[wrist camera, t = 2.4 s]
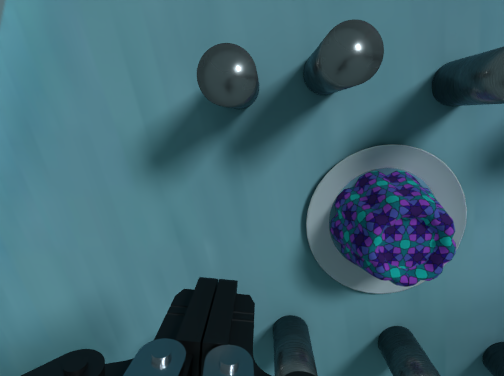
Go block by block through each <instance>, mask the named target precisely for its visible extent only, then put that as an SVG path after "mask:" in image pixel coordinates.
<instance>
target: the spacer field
mask: <svg viewBox="0 0 504 376" xmlns="http://www.w3.org/2000/svg"><path fill="white" fill-rule="evenodd" d="M383 53H384V47H383V42H382V38H381V36H380V34H379V33H378V31H377V30H376V29H375V28H374V27H373V26H372V25H371V24H369V23H367V22H365V21H362V20H348V21H344V22H342V23H340V24H338V25H337V26H335V27H334V28H333V29H332V30H331V31H330V32H329V33H328V34H327V36H326V37H325V38H324V40H323V41H322V42H321V43H320V45H319V46H318V47H317V49H316V50H315V51H314V52H313V54H312V55H311V56H310V57H309V59H308V60H307V62H306V64H305V67H304V72H303V75H304V80H305V83H306V85H307V86H308V88H309V89H310V90H311V91H313V92H314V93H316V94H320V95H328V94H331V93H334V92H338V91H341V90H344V89H347V88H350V87H353V86H356V85H359V84H362V83H364V82H366V81H368V80H369V79H370V78H371V77H372V76H373V75H374V74H375V73H376V72H377V70H378V69H379V67H380V65H381V62H382V59H383ZM197 81H198V85H199V87H200V90H201V91H202V93H203V94H204V96H205V97H206V98H207V99H208V100H209V101H211V102H212V103H214V104H216V105H219V106H224V107H229V108H234V109H243V108H246V107H248V106H250V105H251V104H252V103H253V102H254V101H255V100H256V98H257V96H258V93H259V81H258V76H257V71H256V66H255V63H254V61H253V59H252V57H251V56H250V54H249V53H248V52H247V51H246V50H244V49H243V48H242V47H240V46H238V45H235V44H231V43H222V44H218V45H215V46H213V47H211V48H210V49H209V50H207V51H206V52H205V53H204V55H203V56H202V58H201V59H200V61H199V64H198V68H197ZM432 92H433V95H434V97H435V98H436V100H437V101H438V102H440V103H441V104H443V105H447V106H462V105H483V104H504V47H501V48H497V49H494V50H490V51H487V52H483V53H480V54H476V55H473V56H469V57H466V58H462V59H459V60H455V61H452V62H449V63H447V64H445V65H443V66H442V67H441V68H440V69H439V70H438V71H437V72H436V74H435V76H434V78H433V82H432ZM273 341H274V367H275V376H285V375H286V374H288V373H290V372H294V371H304V372H308V373H311V374H313V375H315V376H318V375H317V370H316V365H315V360H314V355H313V351H312V346H311V341H310V336H309V331H308V326H307V324H306V323H305V321H304V320H303V319H301V318H299V317H297V316H292V315H289V316H284V317H282V318H280V319H279V320H278V321H277V322H276V323H275V325H274V327H273ZM378 346H379V348H380V350H381V352H382V354H383V356H384V358H385V360H386V363H387V365H388V367H389V369H390V371H391V373H392V375H393V376H440V374H439V373H438V371H437V370H436V368H435V367H434V365H433V364H432V362H431V361H430V359H429V358H428V356H427V355H426V353H425V352H424V350H423V349H422V348H421V346H420V345H419V343H418V342H417V340H416V339H415V337H414V336H413V334H412V333H411V332H410V331H409V330H408V329H407V328H404V327H401V326H394V327H390V328H388V329H386V330H384V331H383V332H382V333H381V335H380V336H379V339H378ZM483 363H484V365H485V367H486V368H487V369H488V370H489V371H490V372H491V374H492V375H493V376H504V342H500V343H496V344H494V345H492V346H490V347H489V348H488V349H487V350H486V351H485V353H484V355H483Z"/></svg>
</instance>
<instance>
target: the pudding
mask: <svg viewBox="0 0 504 376" xmlns="http://www.w3.org/2000/svg"><path fill="white" fill-rule="evenodd" d="M381 168H396V169H401V170H405V171H408V172H410V173H412V174H414V175H416V176H418V177H419V178H420V179H422V180H423V181H424V182H425V183H426V184H427V185H428V186H429V187H430V189H431V191H432V192H433V194H434V196H435V197H434V196H433V195H432V193H431V192H430V191H429V190H428V189H427V188H423V187H422V186H421V185H420V184H419V182H418V181H417V180H416V179H415V178H414V177H413V176H412V175H410V174H409V173H407V172H402V171H395V172H393V173H391V174H389V175H387V176H386V175H384V174H382V173H380V172H378V171H375V172H368V171H371V170H375V169H381ZM365 172H368V173H366V174H365V175H363V176H361V177H359V179H358V181H357V183H356V185H355V187H352V188H348V189H344V190H343V191H342V192H341V193H340V191H341V190H342V189H343V188H344V187H345V186H346V185H347V184H348V183H349V182H350V181H351V180H353V179H354V178H356V177H357V176H359V175H361V174H363V173H365ZM339 193H340V194H339ZM338 194H339V195H338ZM337 195H338V197H337ZM336 197H337V200H336V202H335V208H336V211H337V215H336V216H335V217H334V218H333V219H332V221H331V224H330V230H329V217H330V211H331V208H332V205H333V203H334V201H335V199H336ZM466 216H467V208H466V201H465V195H464V193H463V190H462V187H461V184H460V183H459V181H458V179H457V178H456V176H455V174H454V173H453V172H452V171H451V169H450V168H449V167H448V166H447V165H446V164H445V163H444V162H443V161H441V160H440V159H438V158H437V157H436V156H434V155H433V154H430V153H428V152H426V151H424V150H422V149H419V148H415V147H411V146H407V145H396V144H389V145H379V146H374V147H370V148H367V149H363V150H361V151H359V152H356V153H354V154H352V155H350V156H348V157H347V158H345V159H344V160H342V161H341V162H339V163H338V164H337V165H335V166H334V167H333V168H332V169H331V170H330V171H329V172H328V173H327V174H326V175H325V177H324V178H323V179H322V181H321V182H320V183H319V185H318V186H317V188H316V190H315V192H314V194H313V196H312V198H311V201H310V205H309V208H308V212H307V221H306V228H307V238H308V242H309V245H310V249H311V251H312V253H313V255H314V257H315V259H316V261H317V262H318V263H319V265H320V266H321V267H322V269H323V270H324V271H325V272H326V273H327V274H328V275H329V276H330V277H332V278H333V279H334V280H336V281H338V282H339V283H341V284H342V285H344V286H347V287H349V288H351V289H354V290H358V291H362V292H366V293H376V294H383V293H394V292H399V291H403V290H407V289H409V288H412V287H414V286H417V285H419V284H421V283H423V282H424V281H430V280H432V279H434V278H436V277H437V276H438V275H440V274H441V273H442V270H443V267H444V266H445V265H446V264H447V262H449V261H451V260H452V258H453V256H454V255H455V252H456V250H457V248H458V246H459V244H460V242H461V239H462V237H463V234H464V230H465V226H466ZM330 231H331V234H332V236H333V238H334V239H335V240H337V241H338V242H340V243H341V252H342V254H343V255H344V256H345V257H346V258H345V257H344V256H343V255H342V254H340V252H339V251H338V250H337V248H336V247H335V245H334V243H333V241H332V238H331V234H330ZM347 259H348V260H347ZM350 261H351V262H350ZM353 263H354V264H353Z"/></svg>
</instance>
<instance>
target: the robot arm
mask: <svg viewBox="0 0 504 376" xmlns="http://www.w3.org/2000/svg"><path fill="white" fill-rule="evenodd" d="M237 282H238V281H235V280H225V279H219V282H218V279H214V278H204V277H200V278H199V280H198V282H197V285H196V287H195V290H191V289H183V290H182V291H181V292H180V293H178V294H177V295H176V296H175V297H174V299H173V302H172V304H171V307H170V308H169V310H168V312H167V314H166V316H165V318H164V320H163V322H162V324H161V327H160V329H159V331H158V333H157V335H156V337H155V339H154V340H153V341H151V342H149V343H147V344H145V345H144V346H143V347H142V348H141V349H140V350H139V351H138V353H137V354H136V356H135V357H134V358H133V359H130V360H126V361H121V362H115V363H109V364H105V359H104V357H103V355H102V354H101V353H100V352H98V351H96V350H92V349H81V350H76V351H72V352H69V353H67V354H65V355H63V356H61V357H59V358H56V359H54V360H52V361H50V362H48V363H46V364H44V365H42V366H40V367H38V368H36V369H34V370H32V371H30V372H27V373H25V374H23V375H21V376H271V375H269V374H267V373H265V372H264V371H263V370H261V369H260V368H259V367H258V366H257V364H256V363H255V361H254V358H253V332H254V307H255V303H254V302H253V300H252V298H251V297H250V295H244V294H237ZM285 376H315V375H313V374H311V373H308V372H304V371H294V372H290V373H288V374H286V375H285Z"/></svg>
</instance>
